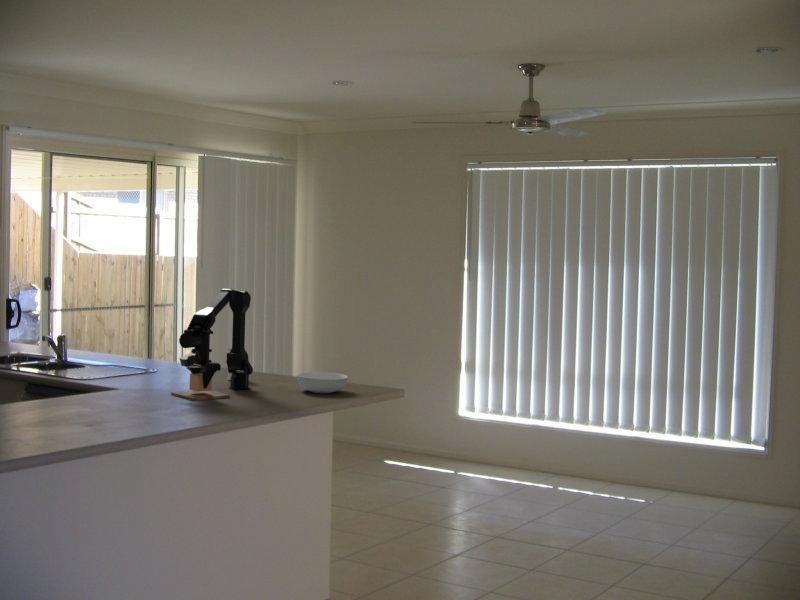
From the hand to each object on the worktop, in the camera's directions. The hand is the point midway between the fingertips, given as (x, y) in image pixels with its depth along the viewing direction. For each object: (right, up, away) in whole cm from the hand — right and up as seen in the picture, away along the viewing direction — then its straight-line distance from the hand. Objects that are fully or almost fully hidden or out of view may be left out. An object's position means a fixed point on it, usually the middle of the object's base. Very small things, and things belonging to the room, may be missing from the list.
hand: (200, 387), depth 357 cm
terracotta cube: (0, -1, 0) cm, 1 cm away
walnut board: (0, -4, 0) cm, 4 cm away
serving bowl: (+44, -4, +24) cm, 51 cm away
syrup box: (+5, -2, +48) cm, 48 cm away
